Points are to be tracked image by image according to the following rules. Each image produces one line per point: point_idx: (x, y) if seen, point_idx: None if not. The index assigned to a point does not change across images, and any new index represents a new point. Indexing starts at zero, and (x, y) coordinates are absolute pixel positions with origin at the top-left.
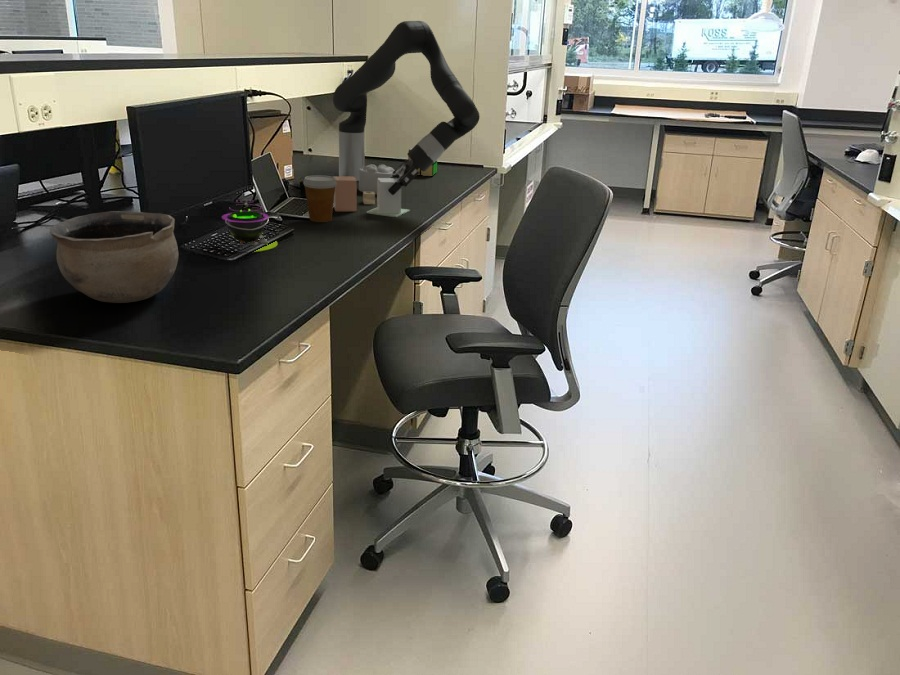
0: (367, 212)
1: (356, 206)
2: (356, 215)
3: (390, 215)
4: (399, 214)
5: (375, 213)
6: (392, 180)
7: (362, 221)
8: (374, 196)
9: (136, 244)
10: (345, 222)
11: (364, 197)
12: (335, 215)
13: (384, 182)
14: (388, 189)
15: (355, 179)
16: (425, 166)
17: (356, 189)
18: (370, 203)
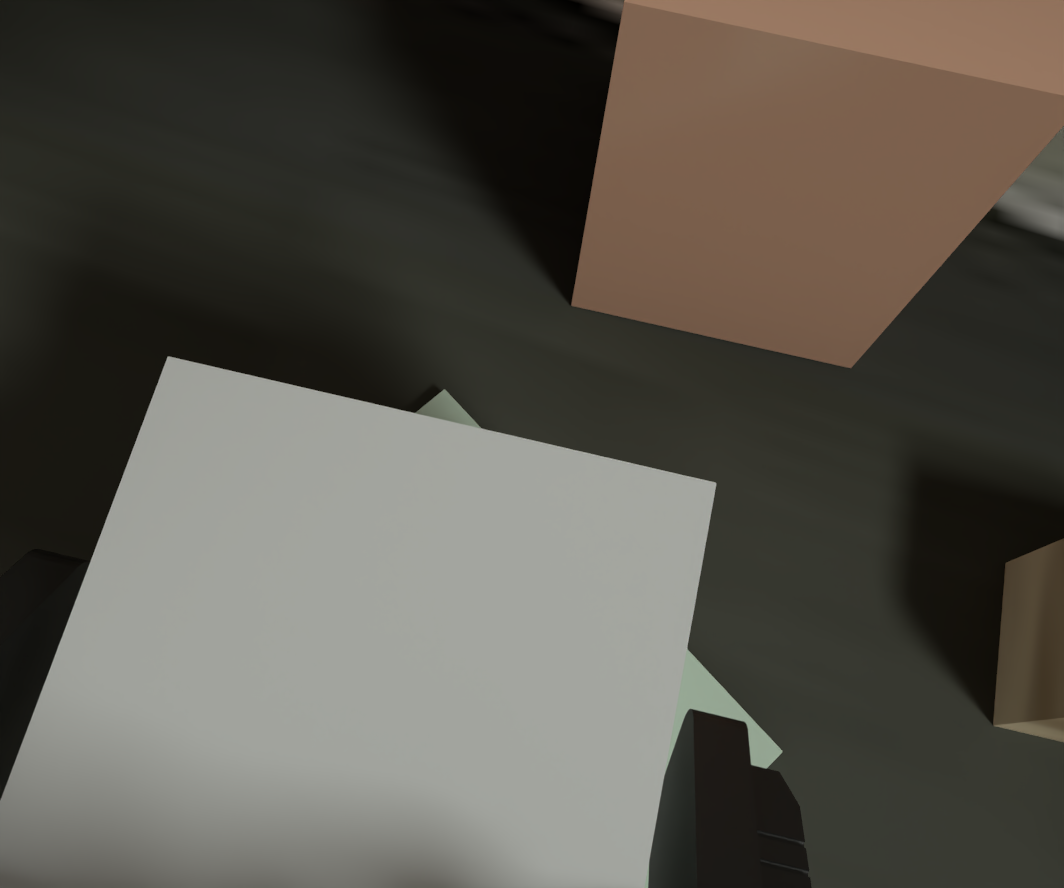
0: (430, 401)
1: (577, 273)
2: (355, 234)
3: None
4: None
5: None
6: (287, 773)
7: (31, 197)
8: (1058, 709)
9: None
10: (64, 14)
11: (1059, 542)
12: (425, 19)
13: (134, 457)
14: (63, 558)
15: (745, 18)
16: None
17: (605, 121)
18: (1003, 655)
